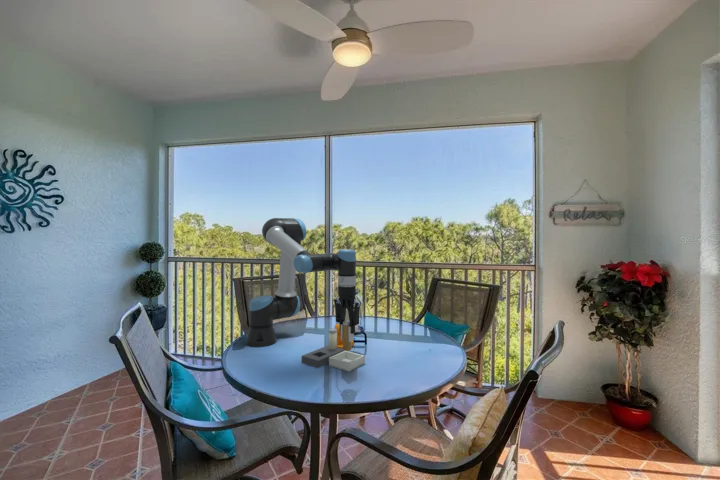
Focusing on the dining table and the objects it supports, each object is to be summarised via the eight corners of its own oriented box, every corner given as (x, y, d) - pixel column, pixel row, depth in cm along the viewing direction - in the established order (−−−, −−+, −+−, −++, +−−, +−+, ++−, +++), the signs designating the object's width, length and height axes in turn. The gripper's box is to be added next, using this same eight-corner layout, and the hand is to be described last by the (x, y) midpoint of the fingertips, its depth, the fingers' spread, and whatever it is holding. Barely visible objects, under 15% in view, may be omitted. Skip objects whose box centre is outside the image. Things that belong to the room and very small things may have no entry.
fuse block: (318, 367, 146) (318, 339, 145) (301, 362, 152) (301, 335, 151) (345, 355, 160) (345, 329, 160) (329, 351, 166) (329, 326, 166)
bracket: (345, 353, 164) (345, 328, 163) (331, 351, 166) (331, 326, 166) (354, 346, 174) (354, 322, 174) (340, 344, 176) (340, 321, 176)
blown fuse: (341, 349, 149) (341, 321, 148) (346, 347, 152) (346, 320, 151) (347, 351, 146) (347, 323, 146) (353, 349, 149) (353, 321, 149)
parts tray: (329, 365, 148) (329, 357, 148) (345, 358, 157) (345, 350, 157) (349, 371, 142) (349, 363, 142) (364, 363, 150) (364, 355, 150)
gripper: (326, 285, 150) (327, 338, 151) (357, 288, 141) (357, 345, 141) (338, 283, 156) (338, 334, 157) (368, 286, 147) (368, 341, 147)
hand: (347, 339), depth 149 cm, fingers closed on blown fuse, 3 cm apart
